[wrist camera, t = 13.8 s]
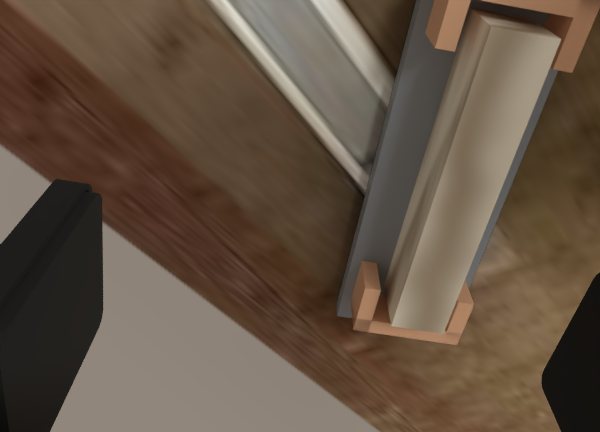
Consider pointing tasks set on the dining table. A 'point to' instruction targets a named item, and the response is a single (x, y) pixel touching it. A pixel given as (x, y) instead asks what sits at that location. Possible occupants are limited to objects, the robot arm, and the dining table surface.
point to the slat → (466, 163)
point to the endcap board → (414, 139)
